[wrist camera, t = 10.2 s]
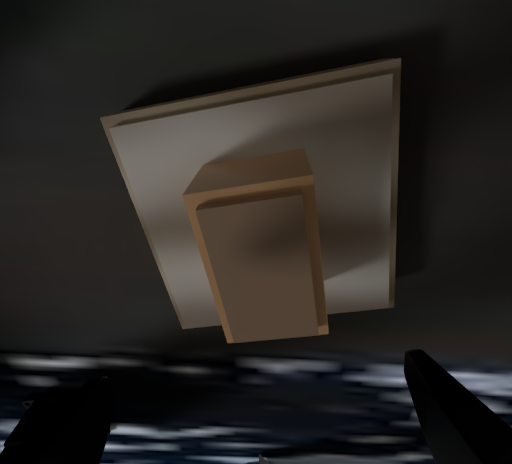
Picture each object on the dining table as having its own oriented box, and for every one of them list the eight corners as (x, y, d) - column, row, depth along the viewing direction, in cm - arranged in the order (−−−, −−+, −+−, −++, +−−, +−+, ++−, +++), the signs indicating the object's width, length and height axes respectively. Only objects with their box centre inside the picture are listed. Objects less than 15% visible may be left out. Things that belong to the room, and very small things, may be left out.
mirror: (382, 283, 22) (396, 312, 19) (190, 304, 24) (180, 334, 21) (383, 58, 16) (405, 57, 13) (121, 110, 17) (94, 119, 15)
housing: (304, 148, 15) (314, 179, 11) (318, 282, 19) (330, 342, 15) (202, 165, 16) (178, 200, 12) (236, 291, 19) (226, 351, 15)
